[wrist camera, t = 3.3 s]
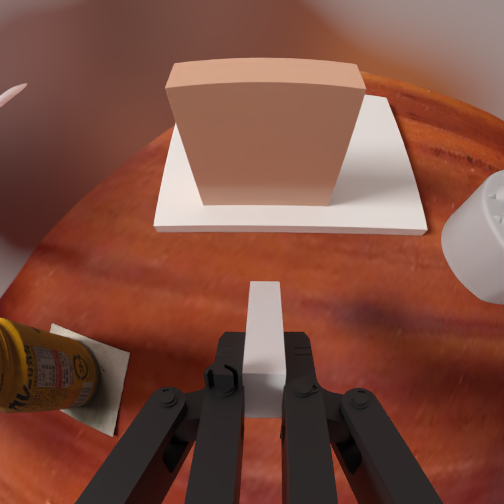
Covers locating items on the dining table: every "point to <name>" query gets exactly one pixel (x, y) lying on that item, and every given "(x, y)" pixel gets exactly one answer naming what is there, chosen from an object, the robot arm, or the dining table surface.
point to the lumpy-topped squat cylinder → (479, 241)
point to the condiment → (60, 374)
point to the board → (312, 217)
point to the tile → (265, 127)
